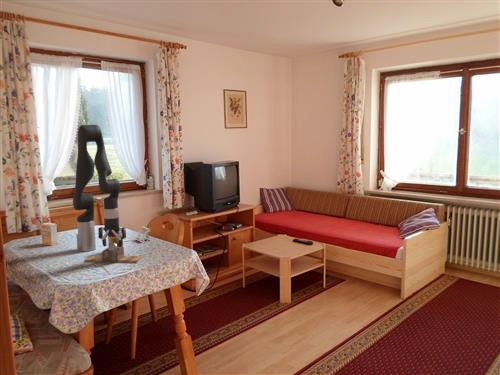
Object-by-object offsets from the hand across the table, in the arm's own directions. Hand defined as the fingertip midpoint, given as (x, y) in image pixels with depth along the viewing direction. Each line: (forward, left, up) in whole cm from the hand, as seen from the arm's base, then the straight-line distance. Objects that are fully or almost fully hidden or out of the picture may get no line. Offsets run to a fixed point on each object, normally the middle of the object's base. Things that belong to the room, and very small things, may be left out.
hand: (112, 246), depth 208 cm
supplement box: (-53, +29, -8) cm, 61 cm away
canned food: (-5, +15, -8) cm, 18 cm away
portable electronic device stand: (+3, +40, -8) cm, 41 cm away
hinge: (0, 0, -8) cm, 8 cm away
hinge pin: (0, 0, -8) cm, 8 cm away
